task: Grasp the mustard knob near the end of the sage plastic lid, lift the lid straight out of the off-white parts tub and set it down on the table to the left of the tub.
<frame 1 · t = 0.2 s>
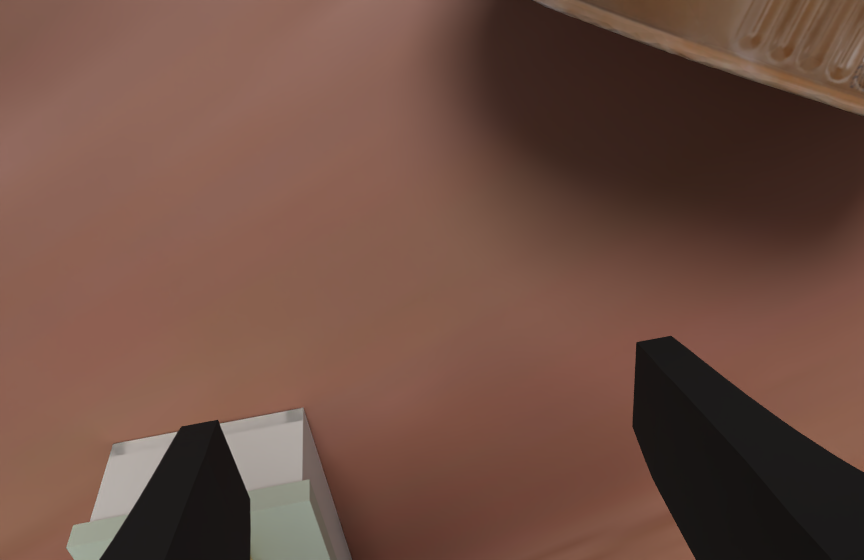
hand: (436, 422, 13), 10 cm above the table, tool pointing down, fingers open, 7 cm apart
tub: (246, 513, 28), on the table
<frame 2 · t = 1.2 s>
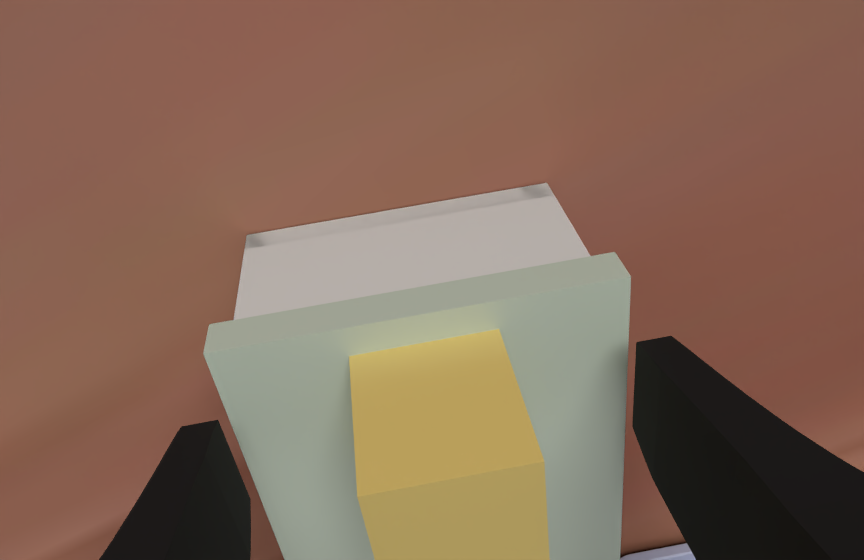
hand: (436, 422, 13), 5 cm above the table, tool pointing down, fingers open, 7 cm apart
tub: (426, 373, 19), on the table
lid: (446, 480, 16), point 3 cm above the table, touching tub
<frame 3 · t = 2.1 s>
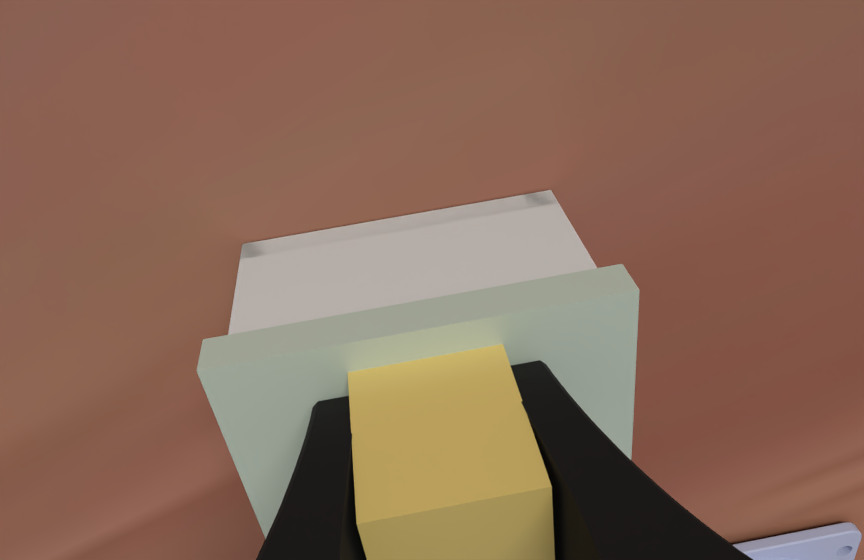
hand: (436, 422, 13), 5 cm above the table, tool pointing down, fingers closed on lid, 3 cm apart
tub: (426, 383, 18), on the table
lid: (448, 496, 15), point 3 cm above the table, touching gripper, tub
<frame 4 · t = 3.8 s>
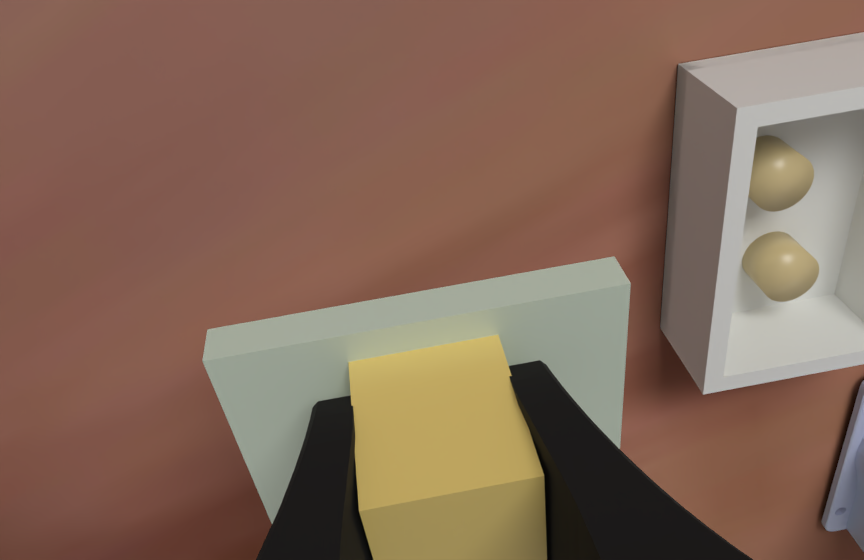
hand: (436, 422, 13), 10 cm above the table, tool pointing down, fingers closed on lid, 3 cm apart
tub: (767, 193, 23), on the table
lid: (444, 475, 16), point 9 cm above the table, touching gripper
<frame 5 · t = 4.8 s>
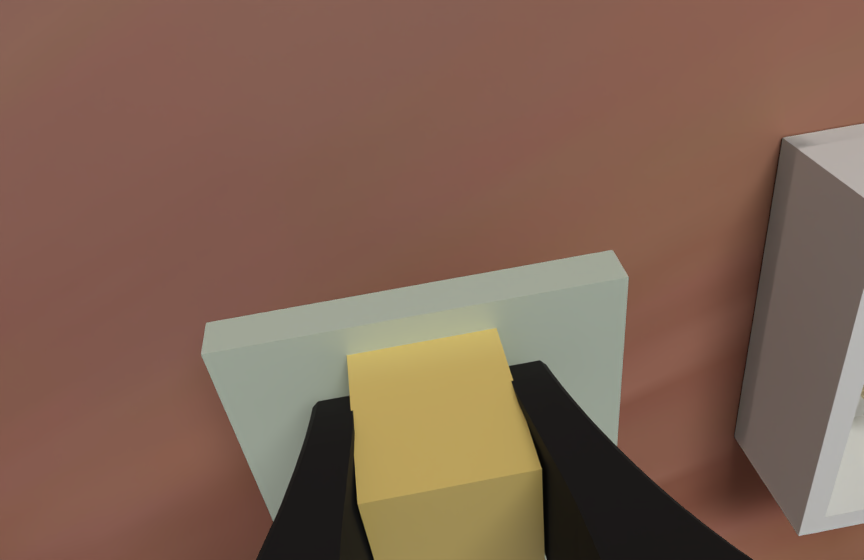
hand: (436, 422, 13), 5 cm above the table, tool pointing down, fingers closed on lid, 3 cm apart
lid: (442, 466, 16), point 3 cm above the table, touching gripper
when the fingers open (3 cm above the table, at t = 5.5 s): lid stays where it is, point 1 cm above the table.
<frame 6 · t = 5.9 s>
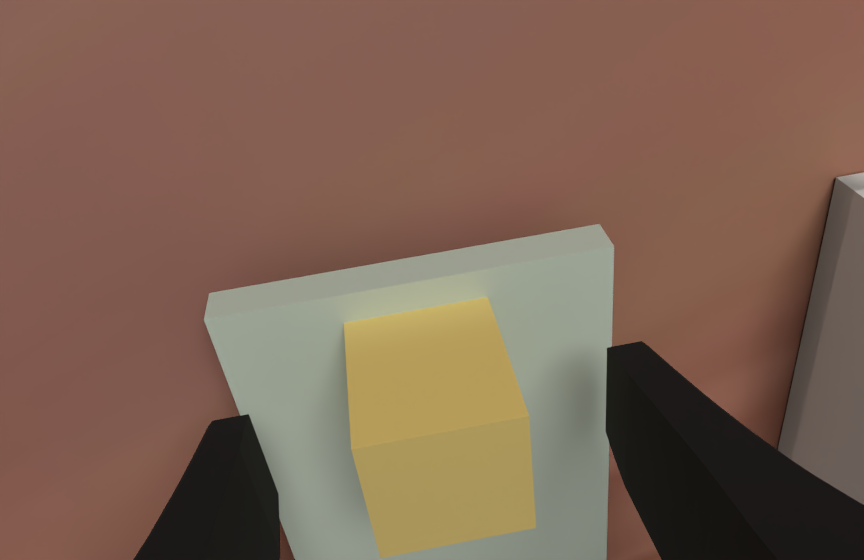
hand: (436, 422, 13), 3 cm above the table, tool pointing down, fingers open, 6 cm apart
lid: (439, 449, 16), point 1 cm above the table
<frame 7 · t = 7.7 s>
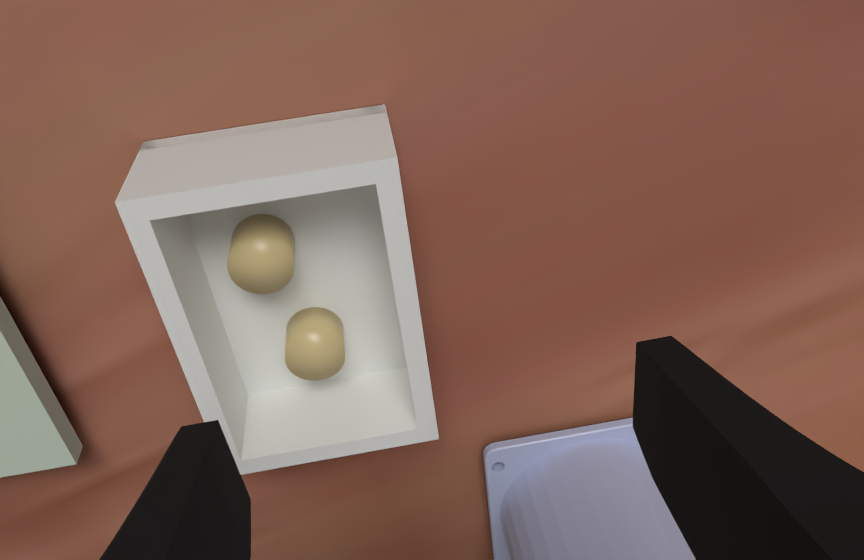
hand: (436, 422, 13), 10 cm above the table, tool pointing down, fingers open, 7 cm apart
tub: (302, 268, 23), on the table
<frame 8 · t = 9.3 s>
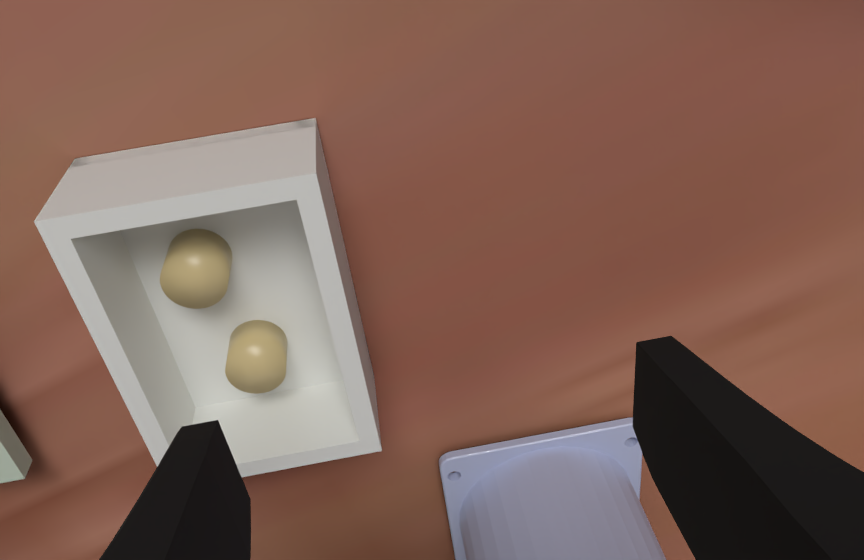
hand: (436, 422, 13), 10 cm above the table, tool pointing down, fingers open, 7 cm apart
tub: (243, 281, 23), on the table
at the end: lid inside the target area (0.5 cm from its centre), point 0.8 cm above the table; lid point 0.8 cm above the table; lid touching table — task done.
